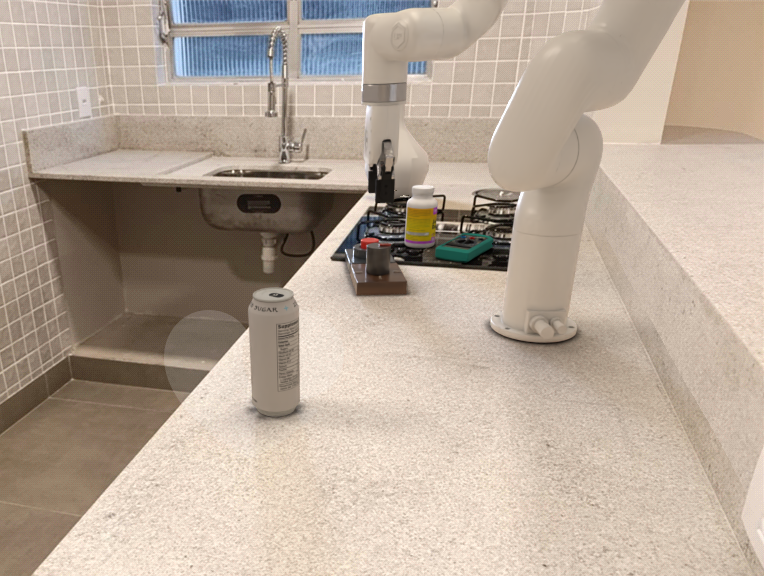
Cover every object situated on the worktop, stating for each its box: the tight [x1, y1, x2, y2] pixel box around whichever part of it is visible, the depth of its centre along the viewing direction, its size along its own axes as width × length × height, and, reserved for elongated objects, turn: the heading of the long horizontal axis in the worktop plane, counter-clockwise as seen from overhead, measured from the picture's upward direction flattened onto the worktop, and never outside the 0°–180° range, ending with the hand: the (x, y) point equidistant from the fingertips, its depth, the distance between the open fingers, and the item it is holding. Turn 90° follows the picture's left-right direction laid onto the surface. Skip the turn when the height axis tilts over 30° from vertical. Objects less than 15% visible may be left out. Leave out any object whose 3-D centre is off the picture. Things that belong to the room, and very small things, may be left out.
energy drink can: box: [247, 286, 301, 418], centre depth 84 cm, size 6×6×15 cm
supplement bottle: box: [403, 184, 438, 249], centre depth 153 cm, size 7×7×13 cm
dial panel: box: [349, 262, 408, 297], centre depth 130 cm, size 12×9×3 cm
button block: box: [344, 242, 397, 275], centre depth 142 cm, size 11×9×4 cm
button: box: [360, 237, 380, 249], centre depth 141 cm, size 4×4×2 cm
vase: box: [364, 104, 430, 199], centre depth 200 cm, size 18×18×30 cm
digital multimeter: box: [434, 232, 494, 264], centre depth 148 cm, size 7×15×3 cm, turn 142°
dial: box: [366, 242, 392, 275], centre depth 129 cm, size 4×4×5 cm
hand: (380, 197), depth 125 cm, fingers open, 9 cm apart
